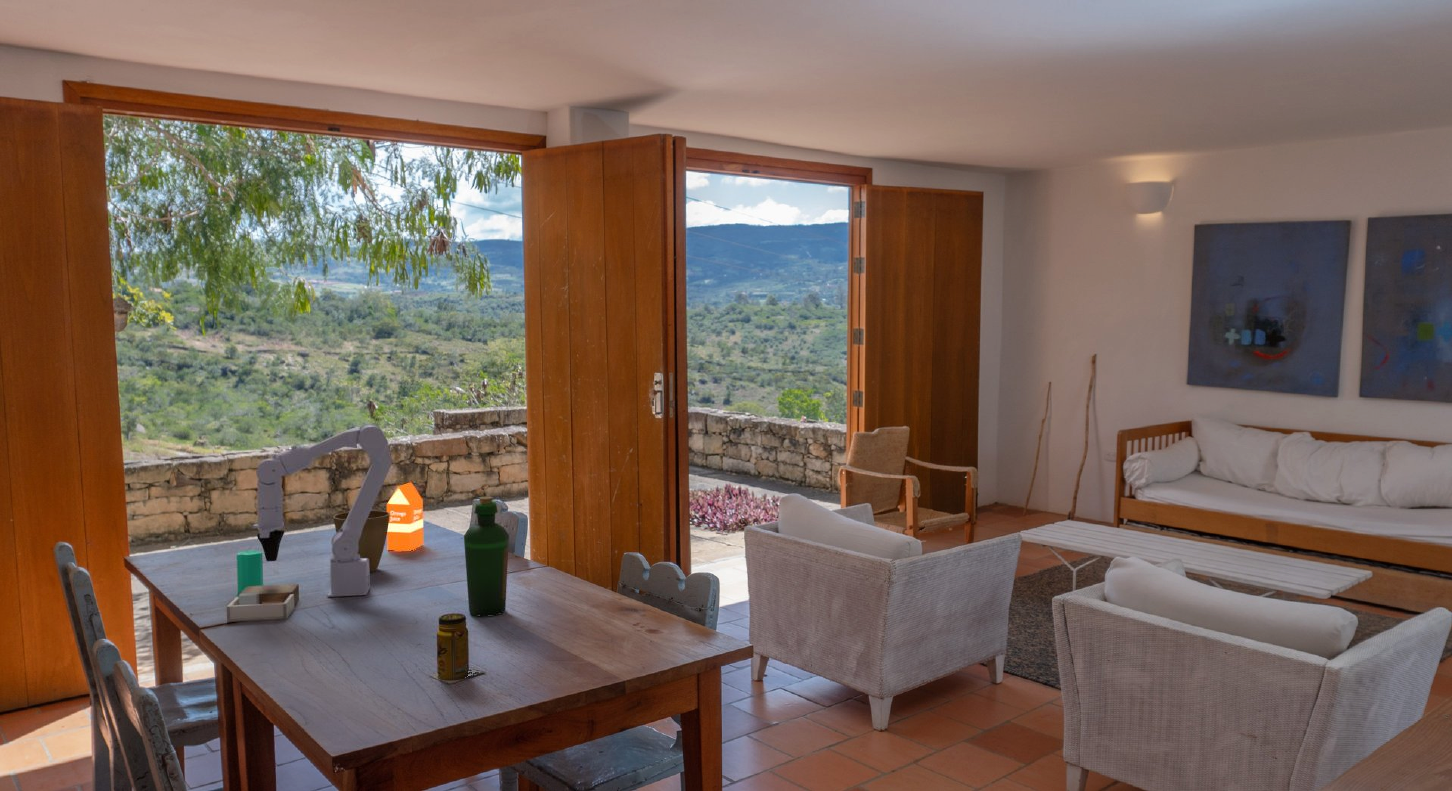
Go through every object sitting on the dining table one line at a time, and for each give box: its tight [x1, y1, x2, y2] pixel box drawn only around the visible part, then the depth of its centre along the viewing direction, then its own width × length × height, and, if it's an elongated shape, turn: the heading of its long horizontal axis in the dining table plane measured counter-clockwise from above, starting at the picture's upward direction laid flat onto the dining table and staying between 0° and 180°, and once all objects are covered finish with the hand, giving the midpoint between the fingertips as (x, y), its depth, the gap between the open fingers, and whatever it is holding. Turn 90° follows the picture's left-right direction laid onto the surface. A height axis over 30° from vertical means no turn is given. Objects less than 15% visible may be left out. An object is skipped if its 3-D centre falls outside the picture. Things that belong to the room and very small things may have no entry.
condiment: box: [428, 612, 486, 684], centre depth 199 cm, size 7×8×12 cm
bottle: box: [463, 496, 510, 617], centre depth 241 cm, size 11×11×28 cm
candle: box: [236, 546, 264, 596], centre depth 258 cm, size 6×6×12 cm
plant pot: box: [333, 509, 390, 573], centre depth 282 cm, size 15×15×16 cm
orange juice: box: [386, 481, 424, 552], centre depth 310 cm, size 8×9×20 cm
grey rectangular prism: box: [238, 593, 259, 605], centre depth 240 cm, size 4×4×2 cm
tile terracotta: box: [262, 601, 283, 604], centre depth 238 cm, size 4×4×2 cm
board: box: [238, 583, 300, 607], centre depth 247 cm, size 12×8×4 cm, turn 102°
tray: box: [226, 594, 295, 623], centre depth 239 cm, size 13×9×4 cm, turn 102°
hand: (271, 560), depth 252 cm, fingers closed
